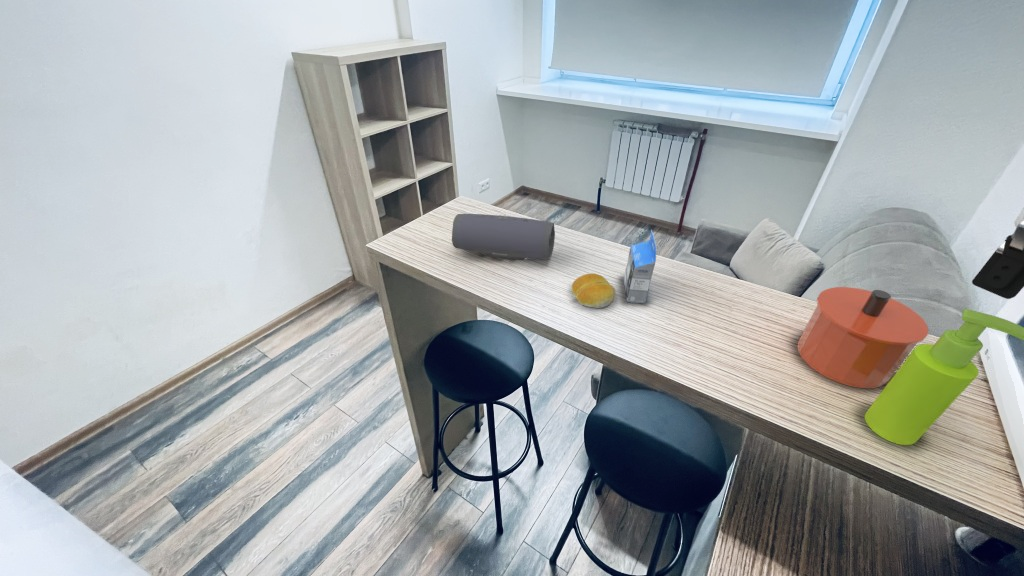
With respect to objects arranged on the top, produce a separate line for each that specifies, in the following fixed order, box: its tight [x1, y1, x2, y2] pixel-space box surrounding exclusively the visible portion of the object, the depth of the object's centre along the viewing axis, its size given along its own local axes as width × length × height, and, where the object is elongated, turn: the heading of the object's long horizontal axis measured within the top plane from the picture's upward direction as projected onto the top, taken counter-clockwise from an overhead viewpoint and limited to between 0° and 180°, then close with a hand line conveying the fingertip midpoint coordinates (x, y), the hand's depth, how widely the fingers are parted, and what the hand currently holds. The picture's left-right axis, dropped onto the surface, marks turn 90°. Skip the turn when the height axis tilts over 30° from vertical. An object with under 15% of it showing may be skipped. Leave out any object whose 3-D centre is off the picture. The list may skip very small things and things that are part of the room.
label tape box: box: [623, 229, 658, 304], centre depth 81 cm, size 9×4×12 cm, turn 171°
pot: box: [797, 304, 918, 389], centre depth 65 cm, size 13×13×10 cm
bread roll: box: [571, 273, 616, 309], centre depth 82 cm, size 8×9×4 cm
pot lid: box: [816, 286, 929, 345], centre depth 61 cm, size 14×14×5 cm
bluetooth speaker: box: [451, 213, 556, 262], centre depth 95 cm, size 23×9×10 cm, turn 76°
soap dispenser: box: [864, 308, 1024, 446], centre depth 51 cm, size 6×7×20 cm
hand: (1017, 279), depth 43 cm, fingers open, 9 cm apart
